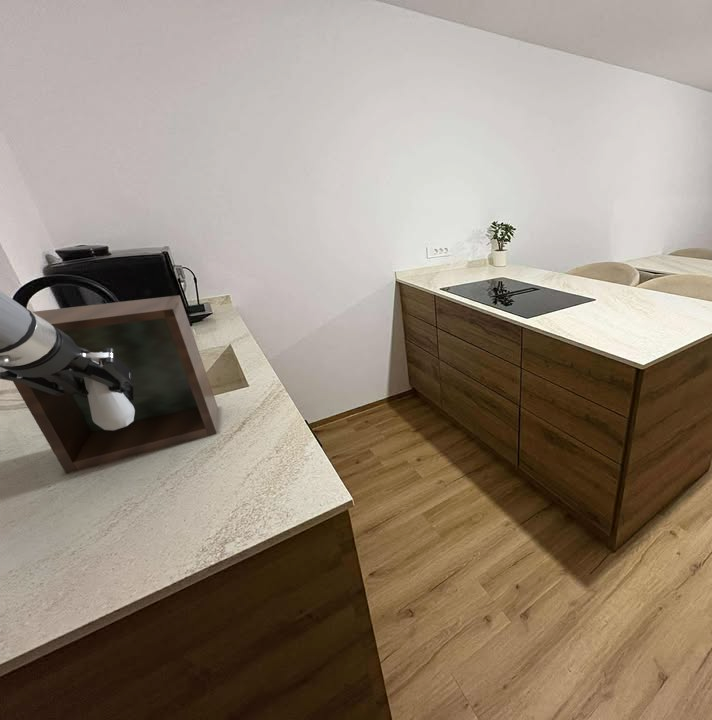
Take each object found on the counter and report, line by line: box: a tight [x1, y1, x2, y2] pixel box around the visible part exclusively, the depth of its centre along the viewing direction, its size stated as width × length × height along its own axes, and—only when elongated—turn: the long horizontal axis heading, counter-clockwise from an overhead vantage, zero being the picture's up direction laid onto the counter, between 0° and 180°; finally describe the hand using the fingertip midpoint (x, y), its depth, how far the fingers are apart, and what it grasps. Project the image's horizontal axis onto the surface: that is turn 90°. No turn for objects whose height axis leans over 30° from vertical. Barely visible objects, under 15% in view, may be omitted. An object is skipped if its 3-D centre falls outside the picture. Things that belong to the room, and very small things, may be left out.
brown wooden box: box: [12, 294, 219, 475], centre depth 76 cm, size 24×13×28 cm, turn 122°
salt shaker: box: [83, 360, 135, 430], centre depth 68 cm, size 6×6×13 cm
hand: (118, 395), depth 72 cm, fingers closed on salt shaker, 3 cm apart
